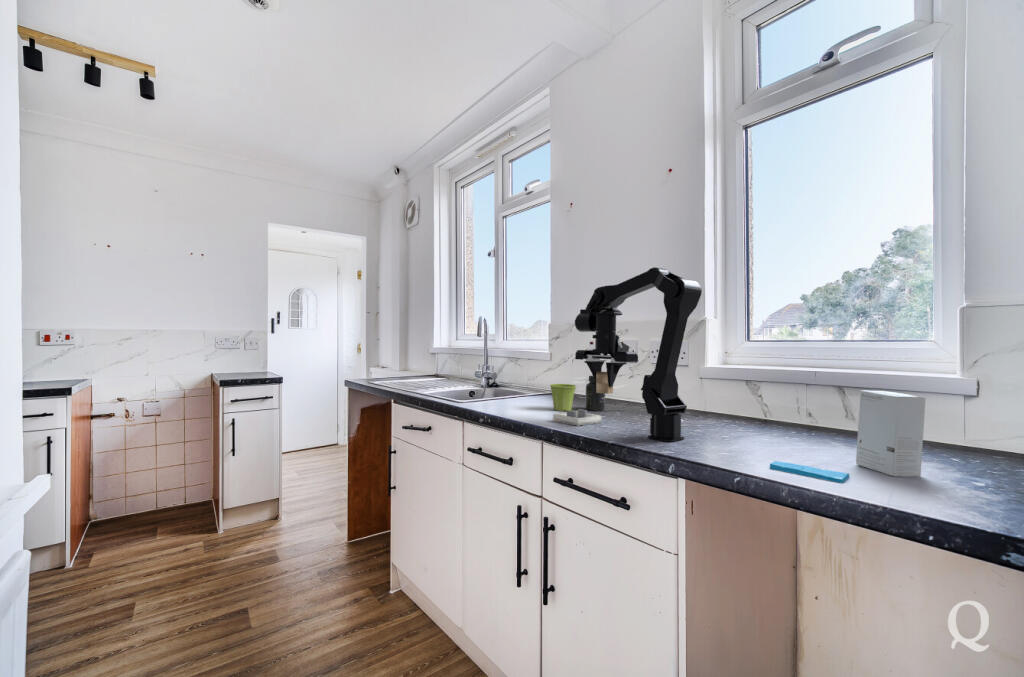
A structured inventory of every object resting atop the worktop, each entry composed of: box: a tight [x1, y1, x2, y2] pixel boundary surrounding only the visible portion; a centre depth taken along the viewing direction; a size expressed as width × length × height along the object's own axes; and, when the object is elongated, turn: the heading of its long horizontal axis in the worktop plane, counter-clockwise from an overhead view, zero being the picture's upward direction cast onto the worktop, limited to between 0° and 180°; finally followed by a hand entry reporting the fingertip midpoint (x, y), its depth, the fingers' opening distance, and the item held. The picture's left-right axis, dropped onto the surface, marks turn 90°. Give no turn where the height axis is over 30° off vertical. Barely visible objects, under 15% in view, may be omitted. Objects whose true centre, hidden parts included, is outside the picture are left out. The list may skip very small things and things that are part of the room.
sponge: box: [769, 460, 850, 484], centre depth 83 cm, size 2×12×6 cm
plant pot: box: [549, 383, 577, 412], centre depth 156 cm, size 9×9×9 cm
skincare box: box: [855, 389, 926, 478], centre depth 85 cm, size 8×6×15 cm
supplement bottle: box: [585, 375, 606, 412], centre depth 157 cm, size 7×7×12 cm
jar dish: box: [552, 408, 602, 427], centre depth 133 cm, size 10×10×3 cm
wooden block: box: [596, 371, 614, 395], centre depth 128 cm, size 4×2×6 cm, turn 40°
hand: (604, 386), depth 128 cm, fingers closed on wooden block, 4 cm apart
